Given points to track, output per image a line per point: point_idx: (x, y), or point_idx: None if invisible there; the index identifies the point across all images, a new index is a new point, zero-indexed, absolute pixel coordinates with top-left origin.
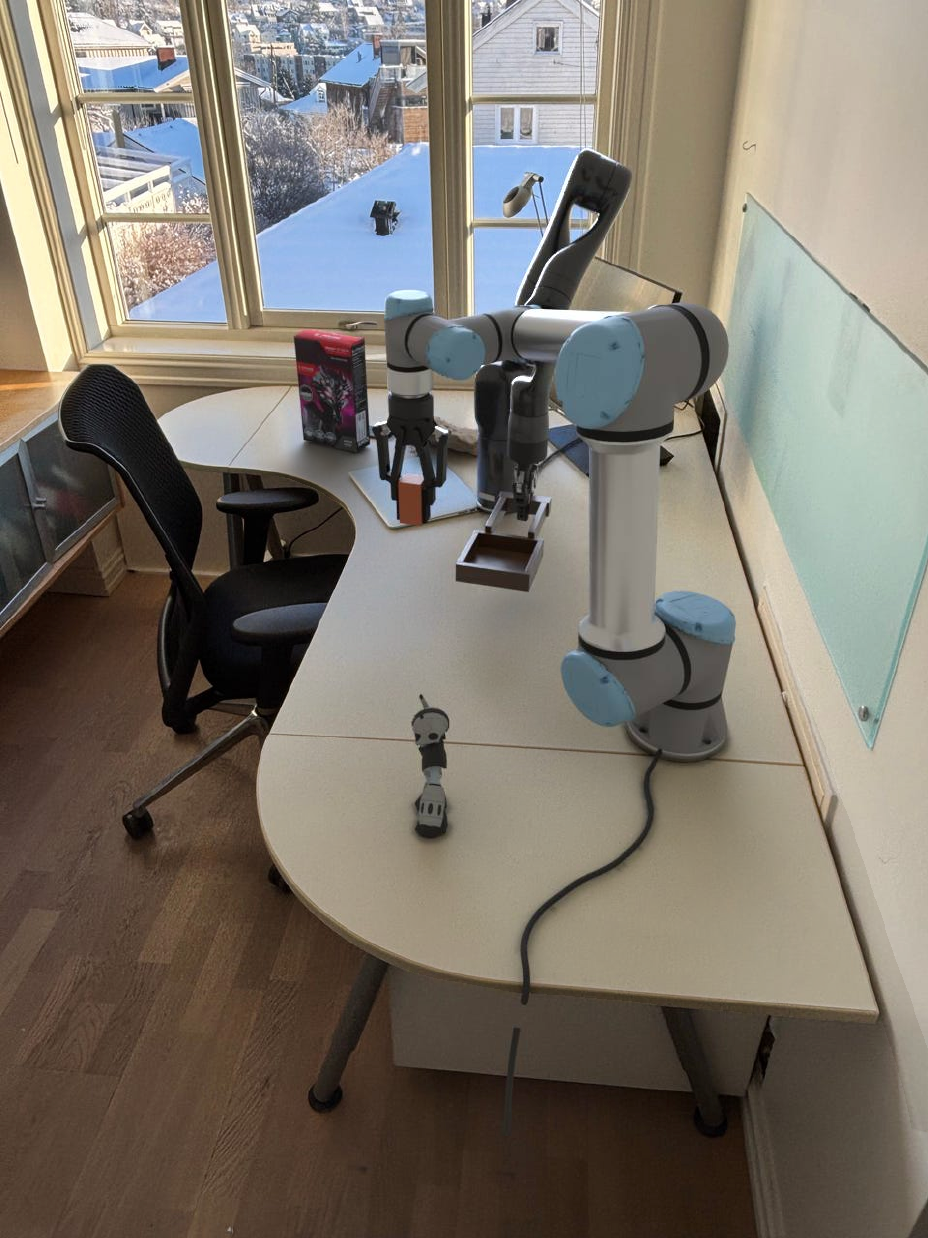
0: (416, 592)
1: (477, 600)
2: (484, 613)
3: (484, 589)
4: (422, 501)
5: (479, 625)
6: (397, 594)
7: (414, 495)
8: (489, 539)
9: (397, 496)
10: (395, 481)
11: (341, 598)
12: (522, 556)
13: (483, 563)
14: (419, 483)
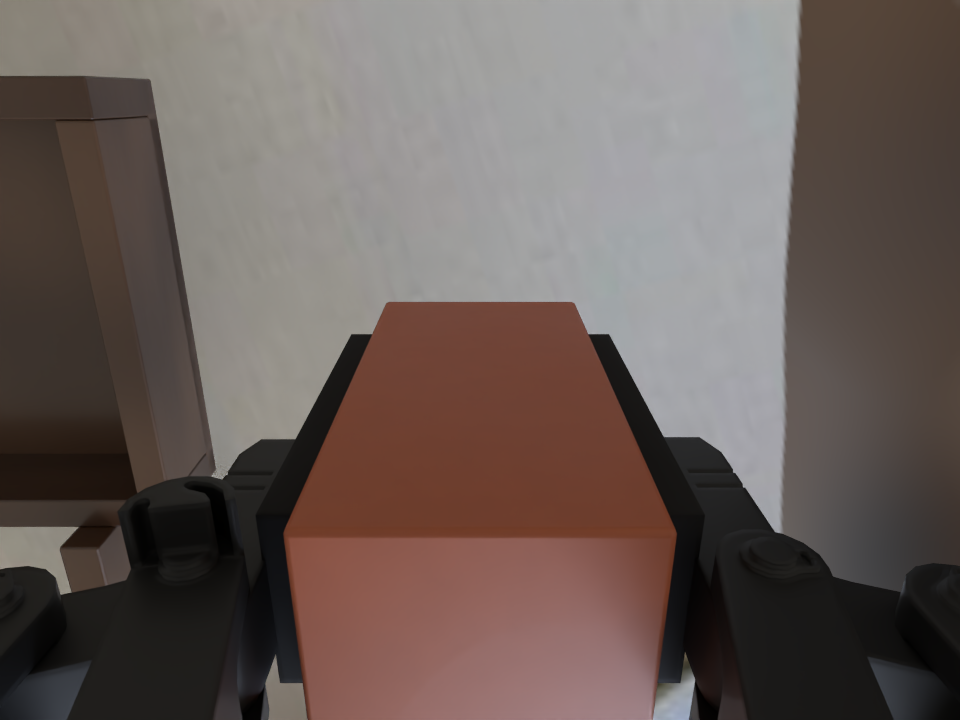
0: (498, 299)
1: (252, 309)
2: (190, 227)
3: (256, 387)
4: None
5: (172, 134)
6: (568, 265)
7: (411, 428)
8: (90, 480)
9: (646, 438)
10: (732, 568)
11: (789, 172)
12: None
13: (69, 293)
14: (314, 567)
